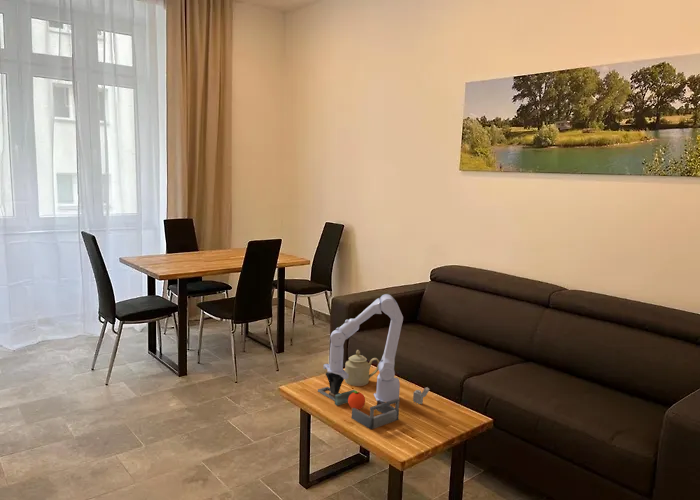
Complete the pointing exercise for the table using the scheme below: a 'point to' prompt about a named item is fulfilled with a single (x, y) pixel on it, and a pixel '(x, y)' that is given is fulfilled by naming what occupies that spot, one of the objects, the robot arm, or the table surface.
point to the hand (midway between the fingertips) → (334, 390)
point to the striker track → (326, 393)
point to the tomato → (356, 400)
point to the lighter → (420, 395)
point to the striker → (339, 395)
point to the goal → (379, 420)
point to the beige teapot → (359, 370)
